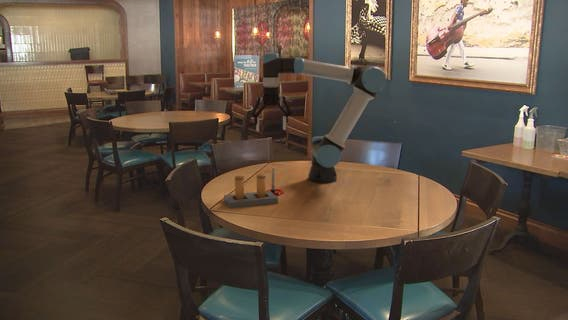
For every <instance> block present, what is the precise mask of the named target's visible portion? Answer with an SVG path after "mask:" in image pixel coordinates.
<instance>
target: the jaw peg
mask: <svg viewBox="0 0 568 320" xmlns="http://www.w3.org/2000/svg"><path fill="white" fill-rule="evenodd" d="M255 176H256V177H255V178H256V192H257V198H261V197H266V191H267V190H266V174H264V173H261V174H260V173H259V174H256V175H255Z"/></svg>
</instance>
